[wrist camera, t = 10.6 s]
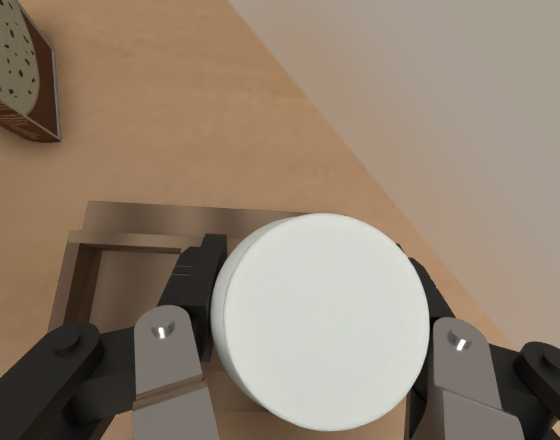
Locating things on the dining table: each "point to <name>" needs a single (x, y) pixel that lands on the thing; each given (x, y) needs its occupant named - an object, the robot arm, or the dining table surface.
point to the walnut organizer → (145, 269)
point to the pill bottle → (321, 321)
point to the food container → (27, 77)
